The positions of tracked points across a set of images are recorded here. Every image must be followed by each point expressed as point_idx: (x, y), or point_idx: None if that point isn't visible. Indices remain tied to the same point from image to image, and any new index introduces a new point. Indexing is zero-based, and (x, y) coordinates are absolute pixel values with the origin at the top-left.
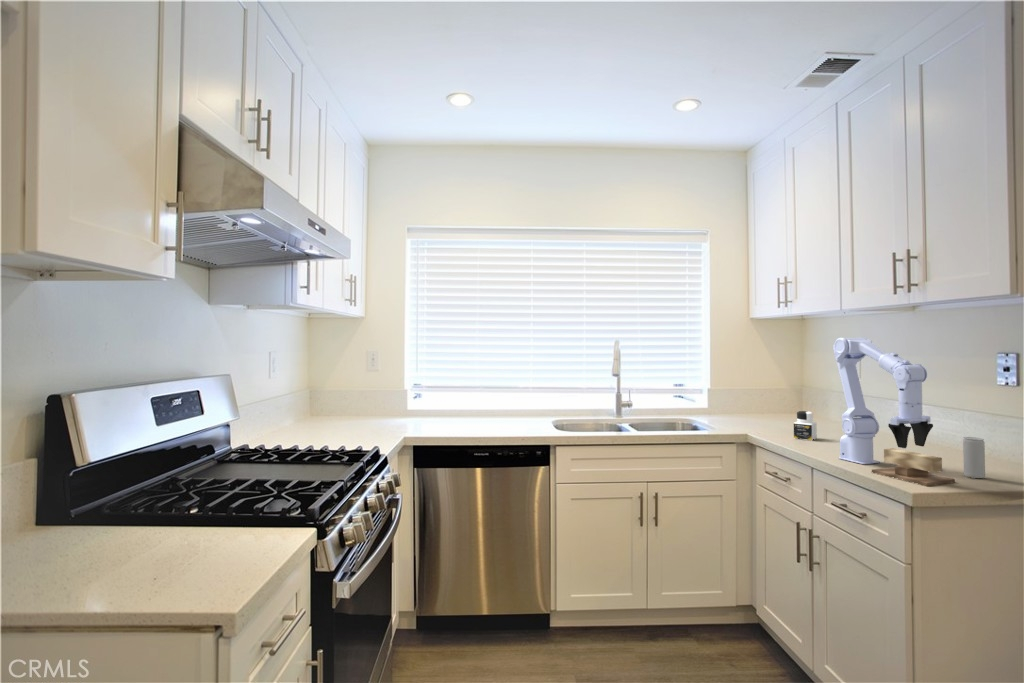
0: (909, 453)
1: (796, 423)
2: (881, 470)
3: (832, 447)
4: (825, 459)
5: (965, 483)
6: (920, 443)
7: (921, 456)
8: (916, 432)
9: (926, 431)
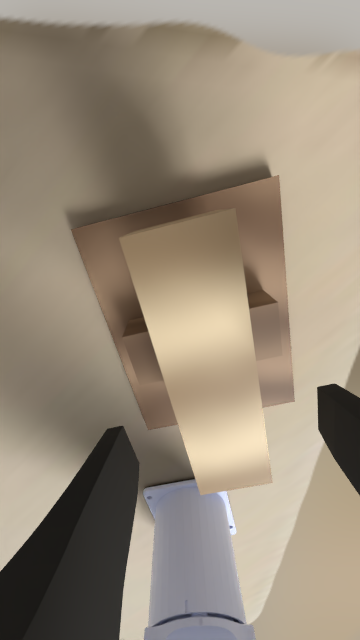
0: (235, 384)
1: None
2: (270, 386)
3: (140, 607)
4: (278, 525)
5: (39, 207)
6: (122, 457)
7: (241, 296)
8: (106, 611)
9: (32, 606)
